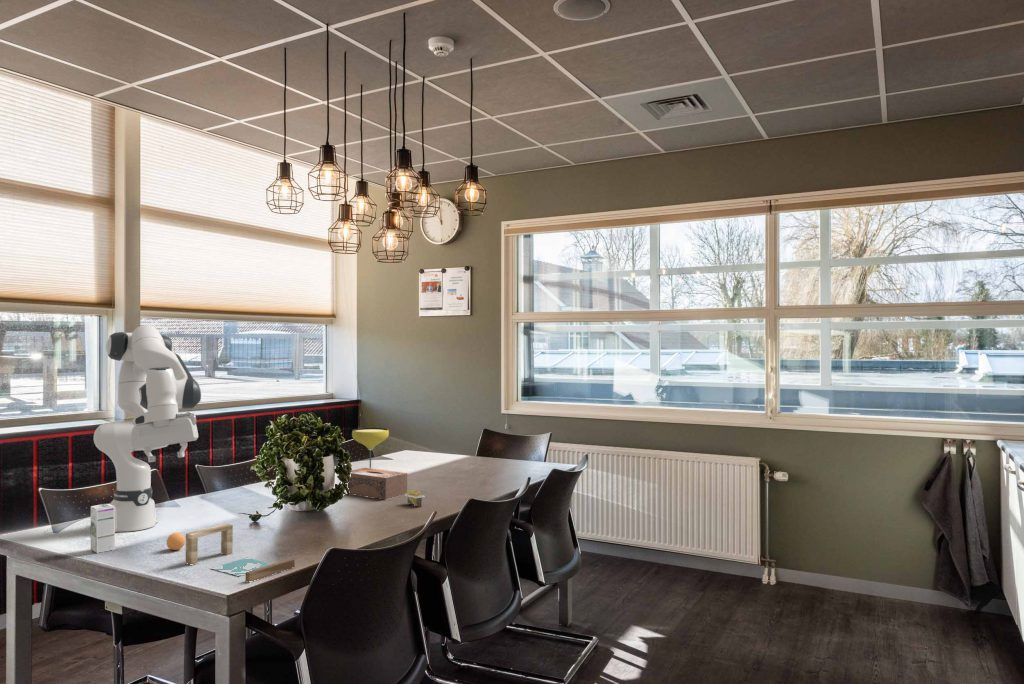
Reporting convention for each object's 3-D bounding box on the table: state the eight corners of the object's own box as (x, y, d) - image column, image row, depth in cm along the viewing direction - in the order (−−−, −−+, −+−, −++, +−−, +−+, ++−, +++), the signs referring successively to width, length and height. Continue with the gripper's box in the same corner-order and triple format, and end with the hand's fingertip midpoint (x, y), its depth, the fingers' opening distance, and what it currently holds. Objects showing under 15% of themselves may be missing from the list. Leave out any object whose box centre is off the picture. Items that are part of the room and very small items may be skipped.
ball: (162, 550, 230) (163, 533, 230) (178, 546, 234) (178, 529, 234) (173, 553, 227) (173, 536, 227) (188, 549, 232) (188, 532, 232)
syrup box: (115, 550, 230) (116, 505, 230) (95, 553, 226) (96, 508, 226) (109, 546, 234) (109, 502, 234) (89, 550, 229) (90, 505, 229)
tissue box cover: (342, 494, 320) (342, 472, 320) (364, 488, 333) (364, 467, 333) (385, 500, 307) (386, 477, 307) (407, 495, 319) (407, 473, 319)
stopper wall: (245, 581, 200) (245, 572, 200) (289, 566, 214) (290, 558, 214) (250, 582, 199) (250, 573, 199) (294, 567, 213) (294, 559, 213)
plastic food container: (419, 512, 287) (419, 496, 287) (387, 506, 297) (387, 490, 297) (438, 507, 296) (438, 491, 296) (407, 501, 307) (407, 486, 307)
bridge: (185, 563, 216) (185, 533, 216) (226, 552, 229) (226, 523, 229) (191, 565, 215) (191, 535, 215) (232, 553, 227) (232, 524, 227)
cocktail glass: (393, 481, 350) (394, 430, 350) (358, 484, 341) (358, 432, 341) (381, 475, 366) (381, 427, 366) (347, 478, 357) (347, 428, 357)
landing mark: (210, 569, 211) (210, 568, 211) (246, 558, 222) (246, 557, 222) (238, 576, 204) (238, 576, 204) (274, 565, 215) (274, 564, 215)
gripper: (199, 411, 228) (203, 454, 226) (138, 421, 229) (141, 464, 226) (190, 410, 222) (193, 454, 220) (127, 420, 222) (129, 464, 220)
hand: (166, 459), depth 223 cm, fingers open, 8 cm apart
